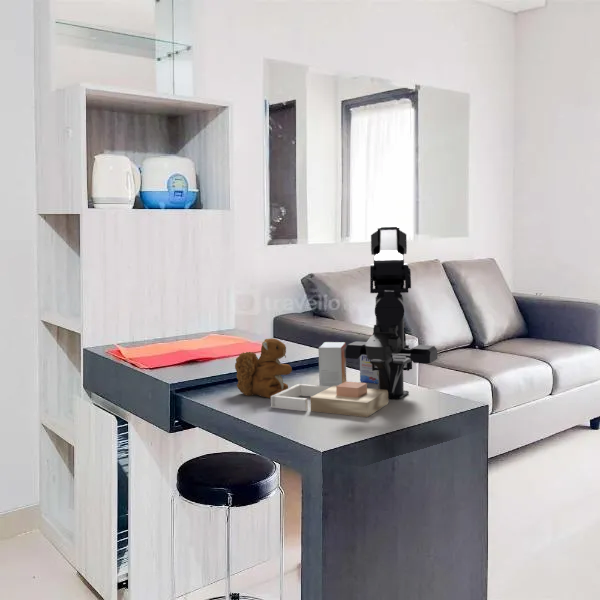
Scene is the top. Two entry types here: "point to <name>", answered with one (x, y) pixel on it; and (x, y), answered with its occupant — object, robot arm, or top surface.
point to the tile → (351, 389)
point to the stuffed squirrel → (262, 370)
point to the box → (295, 397)
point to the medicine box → (367, 371)
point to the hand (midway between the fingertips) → (390, 392)
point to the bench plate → (349, 402)
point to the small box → (332, 364)
